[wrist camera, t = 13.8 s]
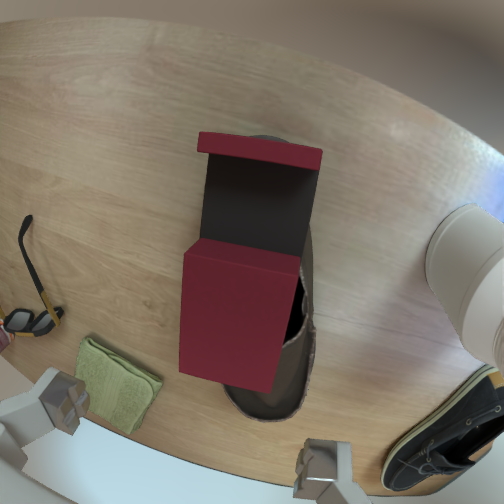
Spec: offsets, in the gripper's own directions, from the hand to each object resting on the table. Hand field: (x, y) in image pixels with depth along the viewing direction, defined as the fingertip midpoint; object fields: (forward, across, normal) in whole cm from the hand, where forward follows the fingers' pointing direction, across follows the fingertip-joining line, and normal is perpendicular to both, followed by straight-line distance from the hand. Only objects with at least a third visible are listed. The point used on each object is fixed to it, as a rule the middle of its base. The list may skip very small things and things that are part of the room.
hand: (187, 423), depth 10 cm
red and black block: (+12, 0, -1) cm, 12 cm away
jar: (+22, -22, -1) cm, 31 cm away
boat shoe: (+21, -32, +26) cm, 46 cm away
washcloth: (+22, +18, +30) cm, 41 cm away
